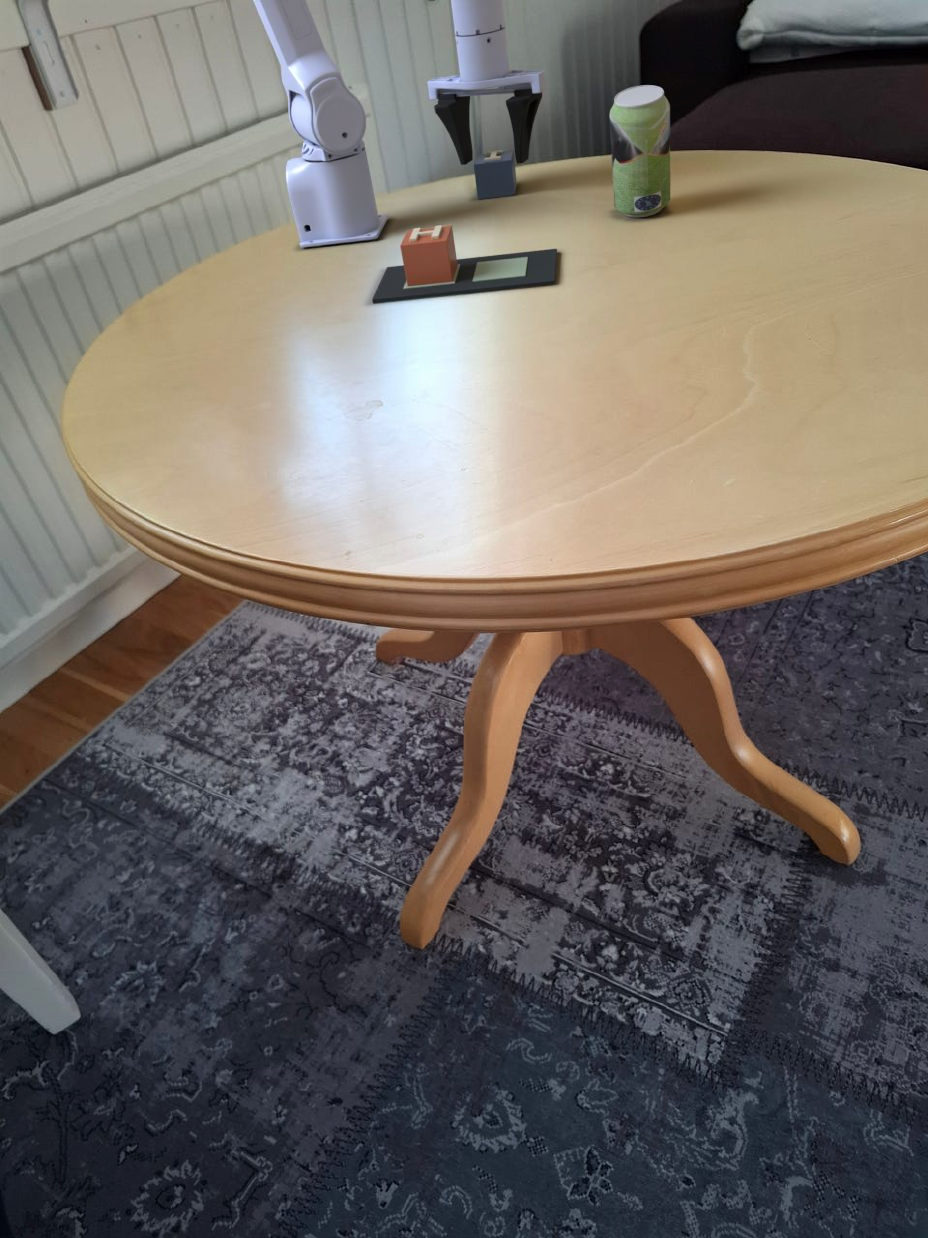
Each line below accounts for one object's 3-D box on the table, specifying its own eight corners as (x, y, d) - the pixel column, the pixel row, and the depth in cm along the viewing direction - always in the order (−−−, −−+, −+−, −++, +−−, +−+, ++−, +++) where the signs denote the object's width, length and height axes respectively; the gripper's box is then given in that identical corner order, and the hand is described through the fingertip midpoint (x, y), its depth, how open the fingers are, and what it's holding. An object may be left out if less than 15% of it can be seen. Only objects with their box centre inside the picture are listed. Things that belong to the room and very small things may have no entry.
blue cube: (477, 199, 110) (473, 161, 107) (481, 188, 113) (476, 151, 110) (514, 194, 109) (511, 156, 106) (516, 184, 112) (513, 147, 110)
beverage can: (668, 199, 99) (669, 76, 91) (673, 220, 94) (675, 91, 86) (611, 206, 100) (607, 85, 92) (613, 227, 95) (609, 100, 87)
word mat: (372, 303, 88) (371, 298, 87) (387, 270, 94) (386, 265, 94) (555, 284, 85) (554, 279, 84) (557, 252, 91) (556, 247, 91)
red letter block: (407, 286, 88) (399, 242, 86) (414, 269, 92) (406, 226, 89) (452, 281, 88) (446, 236, 85) (457, 265, 91) (451, 221, 88)
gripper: (553, 18, 99) (561, 150, 108) (440, 29, 106) (457, 153, 114) (527, 30, 95) (538, 167, 104) (412, 41, 101) (431, 170, 110)
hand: (494, 161), depth 109 cm, fingers open, 7 cm apart
